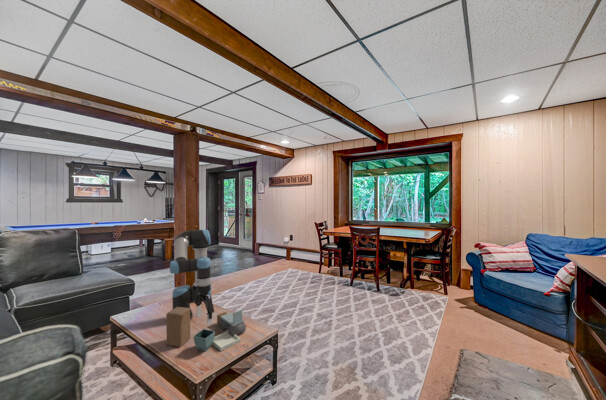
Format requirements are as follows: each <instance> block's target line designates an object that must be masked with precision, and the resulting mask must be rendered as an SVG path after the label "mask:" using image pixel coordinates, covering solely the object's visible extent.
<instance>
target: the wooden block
mask: <svg viewBox="0 0 606 400" xmlns="http://www.w3.org/2000/svg"><path fill="white" fill-rule="evenodd" d="M190 308H191V307H190ZM190 308H185V307H176V308H174V309H173V308H172V309H171V310H169V311H168V312H167V313H166V319H165V320H166V322H165V323H166V345H167V346H170V347H176V348H177V347H178V348H179V347H182V346H183V345H184V344H185V343H187V342H188V341H189V340H190V339H191V319H190Z"/></svg>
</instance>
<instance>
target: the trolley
mask: <svg viewBox="0 0 606 400" xmlns="http://www.w3.org/2000/svg"><path fill="white" fill-rule="evenodd" d="M218 327H219V328H220V330H221V331H224V330H227V331H228V333H229V334H230V335H231V336H232V337H233V336H234V335H237V336H238V335H240V334H242V333H244V332H246V329H247V328H246V324H245V320H244V319H243V309H238V310H236V311H233V312H228V313H227V314H225V315H223V316H221V319H220V320H219V325H218Z"/></svg>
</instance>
